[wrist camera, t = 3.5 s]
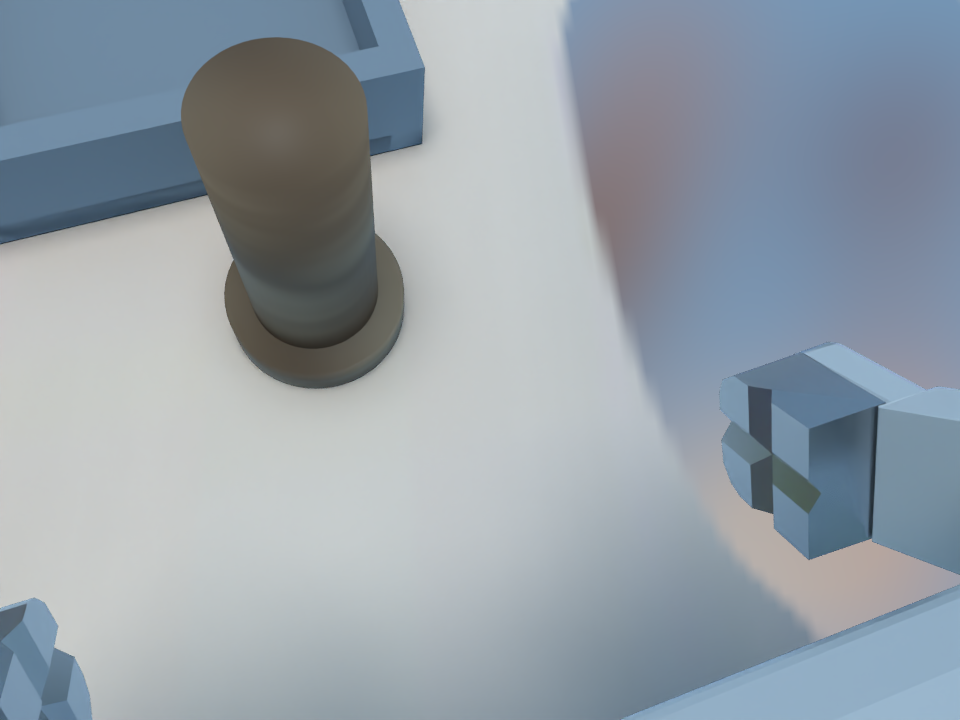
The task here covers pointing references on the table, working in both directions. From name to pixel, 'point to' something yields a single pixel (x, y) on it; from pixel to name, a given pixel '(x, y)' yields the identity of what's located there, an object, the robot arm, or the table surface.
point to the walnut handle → (295, 209)
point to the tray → (160, 94)
